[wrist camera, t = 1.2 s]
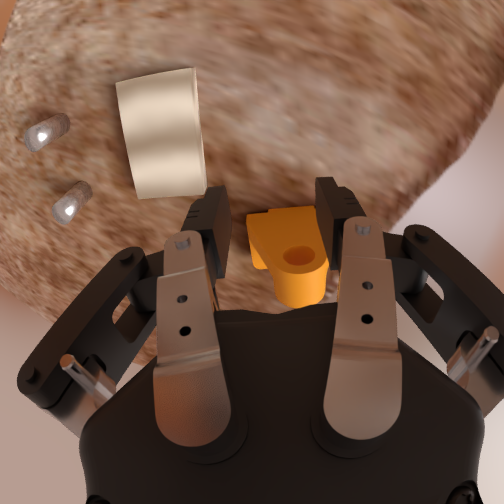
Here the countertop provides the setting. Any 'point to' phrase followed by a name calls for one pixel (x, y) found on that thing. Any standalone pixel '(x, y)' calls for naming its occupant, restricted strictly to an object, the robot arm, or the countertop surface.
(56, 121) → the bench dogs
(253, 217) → the bracket
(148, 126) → the cream curved panel
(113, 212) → the countertop surface
